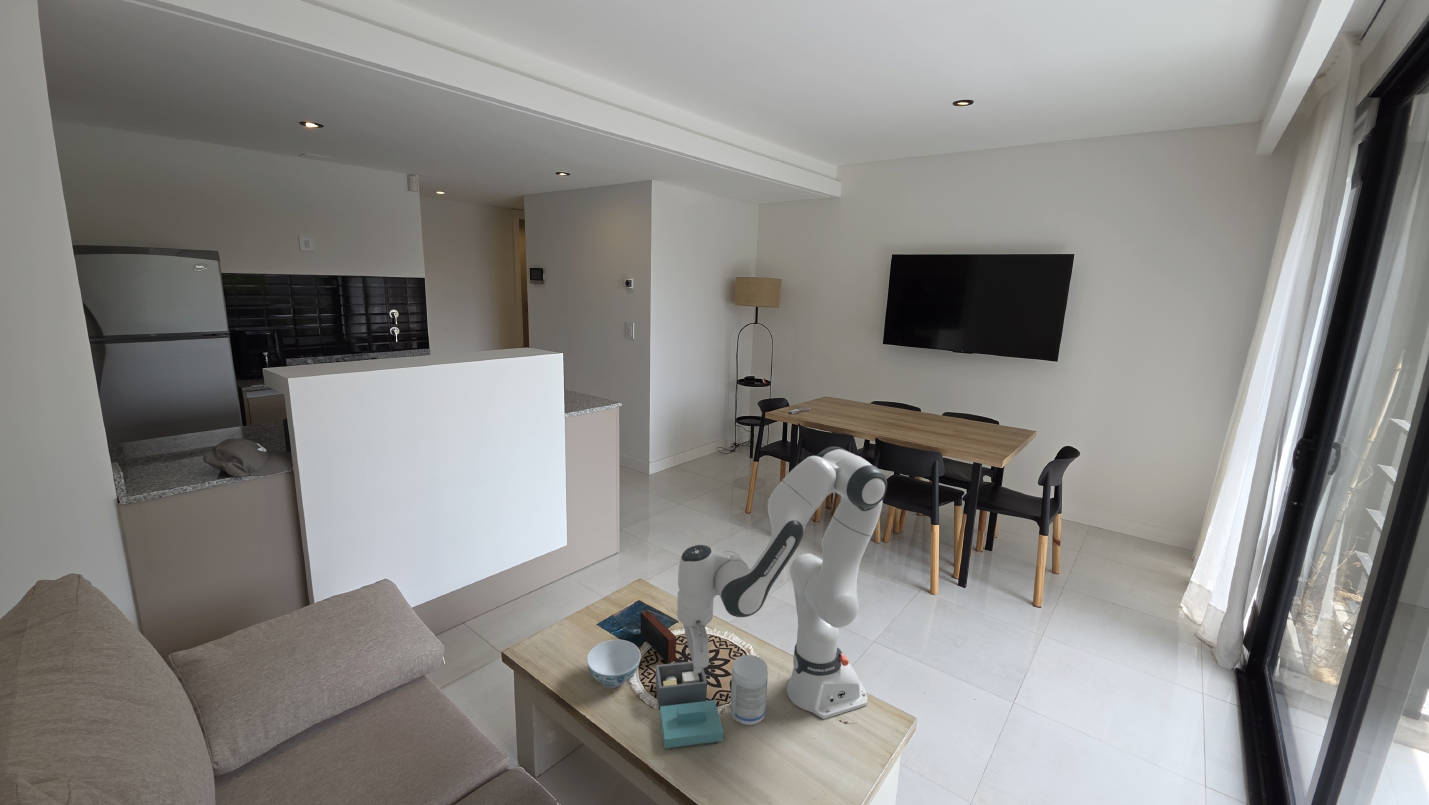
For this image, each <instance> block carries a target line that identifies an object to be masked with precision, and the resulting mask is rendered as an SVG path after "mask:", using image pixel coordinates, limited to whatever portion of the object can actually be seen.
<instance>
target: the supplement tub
mask: <svg viewBox="0 0 1429 805" xmlns="http://www.w3.org/2000/svg"><path fill="white" fill-rule="evenodd" d="M768 678H769V671H768V665H767V663H766V661H765V660H764V659H762V658H761V657H759V656H757V655H752V654H745V655H741V656H738V657H737V658H736V659H735V660H734V661H733V663H732V667H731V683H730V684H731V686H730V710H729V711H730V715H731V716H732V718H733V719H734V720H735V721H737V723H740V724H742V725H745V726H753V725H757V724H759V723H761V722H762V720H764V718H765V717H766V711H767V694H768V693H767V692H768Z"/></svg>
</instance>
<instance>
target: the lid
mask: <svg viewBox="0 0 1429 805" xmlns="http://www.w3.org/2000/svg"><path fill="white" fill-rule="evenodd" d="M659 718H660V719H659V720H660V726H661V730H662V738H663V747H664V749H670V748H673V747H680V746H688V745H695V744H703V743H710V742H718V743H719V742H723V741H724V730H723V725H722V723H721V722H722V721H721V718H720V715H719V710H718V707H717V703H716V700H715V699H713V700H706V701H703V702H694V703H686V704H677V705H669V706H660V710H659Z"/></svg>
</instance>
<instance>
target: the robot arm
mask: <svg viewBox="0 0 1429 805" xmlns="http://www.w3.org/2000/svg"><path fill="white" fill-rule="evenodd" d="M887 488H888V481H887V477H886V475H885V474H884V473H883V472H882V471H881V470H880V469H879V468H878V467H877V466H875V465H873V464H871V463H870V462H869V461H868V460H866V459H865V458H863V457H862V456H859V455H856V454H854V453H852V452H850V451H848V450H847V449H845V448H842V447H840V446H828V447H826V448H824V449H823V450H822V451H820V452H818V454H817V455H811V456H807V457H806V458H805V459H803V460H802V461H801V462H799V463H798V464H797V465H795V467H793V469H791V470H790V471H789V473H787V474H786V476H784V477H783V479H782V480H781V481H780V482H779V483H778V484H777V486H776V487H775V488H774V489H773V490H772V492H771V494H770V496H769V498H768V500H767V513H768V517H769V521H770V525H771V534H770V539H769V541H768V544H767V545H766V547H765V549H764V550H762V553H761V554H760V555H759V557H758V558H757V560H756V561H755V563H754V564H753V566H752V567H751V568H749V567H750V566H748V564H747V563H746V562H745V561H744V559H743V558H742V557H741V556H740V555H739V554H738V553H736V552H734V551H718V550H716V549H713V548H711V547H710V546H709V545H705V544H695V545H692V546H690V547H689V546H688V548H686V549H685V550H684V551H683V553H682V555H681V557H680V560H679V564H678V572H677V586H678V592H677V601H676V602H677V605H676V606H677V607H676V608H677V609H676V617H677V620H678V622H680V623H681V624H682V625H683V629H684V633H685V634H684V635H685V638H686V646H687V647H688V650H689V655H690V658H691V662H692V663H693V671H694V673H700V672H701V668H703V669H705V668H708V666H709V664H710V660H709V659H710V648H709V647H710V646H709V636H708V633H707V630H706V626H707V625H708V624H709V623H710V622H712V620H713V617H714V599H715V597H716V596H719V597H720V599H721V602H722V604H723V606H724V609H725V610H726V612H727V614H729V615H731V617H736V618H747V617H750V616H753V615H755V614H757V613H758V611H760V610H761V609H762V607H763V606H764V604H765V602H766V600H767V597H768V595H769V592H770V590H771V588H772V586H773V585H774V583H775V582H776V580H777V579H778V577H779V576H780V574H781V572H782V571H783V570H784V568H785V567H786V566H787V564H788V563H789V561H790V559H792V557H793V555H794V553H795V552H796V551H797V549H798V547H799V545H801V544H800V543H801V542H802V539H803V536H804V531H805V528H806V527H807V524H808V523H809V520H810V519H811V518H812V516H813V515H814V513H815V512H816V510H818V509H819V507H820V506H821V505H822V503H823V502H824V501H825V500H826V498H827V497H828V496H829V495H831V494H833V493H836V494H837V495H840V496H841V498H840V499H841V500H840V503H838V505H837V508H836V510H835V511H834V513H833V515H832V518H831V519H830V522H829V524H828V525H827V528H826V530H825V532H824V534H823V537H822V539H821V549H822V558H819V556H816V555H814V554H812V553H802V554H800V555H798V556H797V557H796V558H795V559H794V560H793V561H792V562H791V564H790V567H789V576H790V578H791V579H790V580H791V582H792V585H793V586H792V587H793V592H794V593H793V594H794V599H795V601H794V602H795V607H796V608H795V609H796V614H797V615H796V616H797V635H796V643H795V645H794V650H793V657H792V663H793V668H792V672H791V676H790V679H789V682H788V683H787V686H786V693H787V696H788V698H789V699H790V700H791V703H793V704H794V705H796V706H797V708H798V707H799V708H800V709H802V710H804V711H806V712H807V711H808V712H810V713H811V714H812V713H813V714H814V715H815V716H817V717H819V718H821V719H823V720H824V719H829V718H831V717H835V716H838V715H841V714H843V713H847V712H850V711H853V710H854V711H855V710H857V709H860V708H864V707H866V706H867V705H868V693H867V691H866V689H865V687H864V684H863V683H862V681H861V680H860V679H859V676H858V674H857V672H856V671H855V668H854V667H853V666H852V665H851V663H850V661H849V660H848V658H847V656H846V655H843V652H842V650H841V649H840V648H839V647H838V643H839V642H838V641H839V633H840V632H839V631H840V630H839V628H840V629H841V628H845V627H847V626H849V625H850V624H853V623H852V622H854V620H856V618H857V616H858V614H859V610H860V608H859V607H860V605H859V599H858V596H857V582H858V574H859V568H860V564H861V560H862V558H863V555H864V554H865V552H866V549H867V546H868V544H869V542H870V540H871V538H872V536H873V534H874V532H875V529H876V526H877V524H878V521H879V519H880V516H881V512H882V508H883V499H884V498H885V496H886V493H887ZM861 691H863V692H861Z"/></svg>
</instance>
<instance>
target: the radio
mask: <svg viewBox="0 0 1429 805" xmlns="http://www.w3.org/2000/svg"><path fill="white" fill-rule="evenodd" d="M655 615H656V616H655ZM657 616H658V617H659V616H660V617H662V618H665V619H666V620H669V621H672V622H675V623H677V624H679V622H680V621H676V620H674V619H670V618H668V617H667V616H663V615H661V614H658V613H656V612H653V611H651V610H649V609H646V610H643V611H641V612H640V636H641V637H642V638H643V640H645V641H646V642H647V644H649V646H650V647H651V648H652V649H653V650H654V651H655V652H656V653H657V654H658V655H659V656H660V657H661V658H662V659H663V661H665V664H672V663H674V662H675V661H676V658H677V655H676V654H677V636H676V635H675V634H674V633H673V632H672V631H671V630H670V629H669V628H668V627H667V626H666V625H665V624H664V623H663V622H662V621H661V620H660V619H658V617H657Z"/></svg>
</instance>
